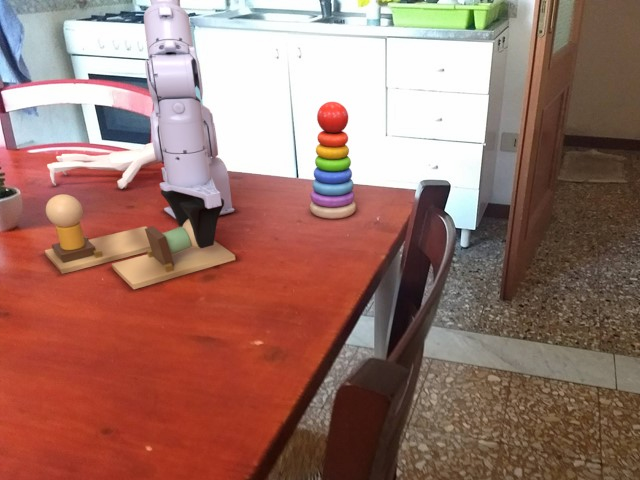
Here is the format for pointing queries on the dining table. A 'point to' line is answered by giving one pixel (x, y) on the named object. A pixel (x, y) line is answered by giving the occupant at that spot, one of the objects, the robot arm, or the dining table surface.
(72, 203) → the ochre toy
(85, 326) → the dining table surface
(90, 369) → the dining table surface
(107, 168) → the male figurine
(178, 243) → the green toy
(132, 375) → the dining table surface
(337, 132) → the stacking toy
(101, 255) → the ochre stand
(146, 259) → the thin cream rectangular board
